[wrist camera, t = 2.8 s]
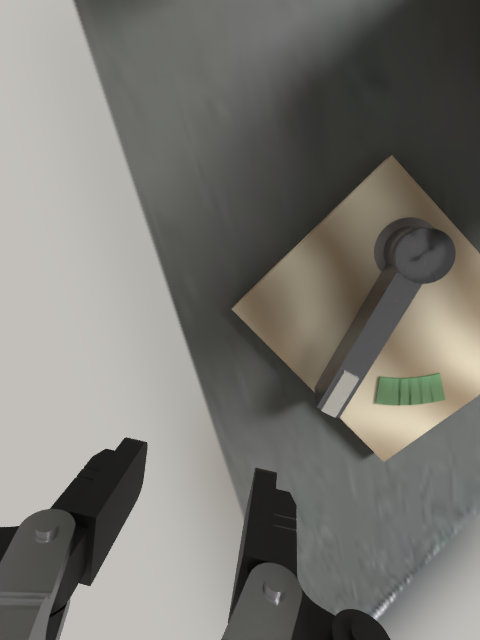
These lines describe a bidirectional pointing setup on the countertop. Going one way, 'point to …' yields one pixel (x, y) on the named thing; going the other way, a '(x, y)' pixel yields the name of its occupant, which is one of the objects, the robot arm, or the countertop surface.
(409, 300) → the tuning lever
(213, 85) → the countertop surface
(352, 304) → the board
